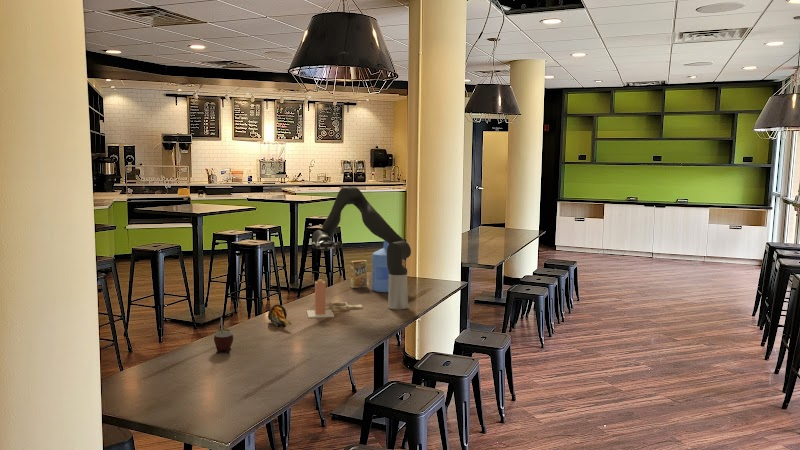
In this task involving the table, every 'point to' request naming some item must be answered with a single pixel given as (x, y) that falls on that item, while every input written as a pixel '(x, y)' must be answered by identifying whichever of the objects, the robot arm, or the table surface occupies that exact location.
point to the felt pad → (312, 314)
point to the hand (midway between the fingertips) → (327, 247)
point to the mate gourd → (223, 339)
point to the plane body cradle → (342, 306)
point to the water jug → (380, 270)
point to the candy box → (358, 273)
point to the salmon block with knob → (320, 297)
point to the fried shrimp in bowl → (278, 315)
